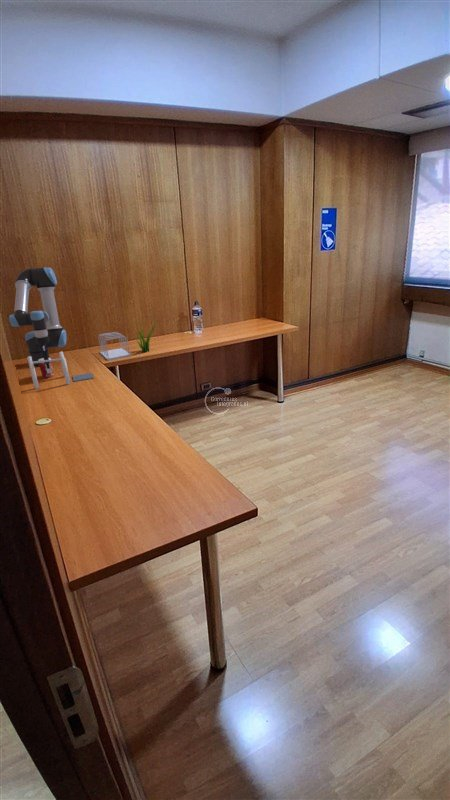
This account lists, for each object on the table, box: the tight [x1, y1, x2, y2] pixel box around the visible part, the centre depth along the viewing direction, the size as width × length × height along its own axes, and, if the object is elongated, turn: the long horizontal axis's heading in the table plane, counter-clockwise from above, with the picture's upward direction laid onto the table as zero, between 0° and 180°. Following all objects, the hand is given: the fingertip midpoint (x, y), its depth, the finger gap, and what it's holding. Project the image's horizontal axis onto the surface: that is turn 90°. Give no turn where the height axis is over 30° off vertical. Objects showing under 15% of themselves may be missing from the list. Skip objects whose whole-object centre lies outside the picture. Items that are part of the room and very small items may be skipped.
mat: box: [72, 372, 95, 383], centre depth 248 cm, size 12×12×1 cm
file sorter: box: [97, 331, 132, 361], centre depth 295 cm, size 25×17×16 cm
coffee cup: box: [38, 357, 55, 380], centre depth 253 cm, size 8×8×15 cm
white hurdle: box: [26, 351, 72, 390], centre depth 239 cm, size 20×21×16 cm
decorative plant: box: [133, 309, 157, 353], centre depth 299 cm, size 18×30×15 cm
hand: (49, 371), depth 254 cm, fingers open, 9 cm apart
